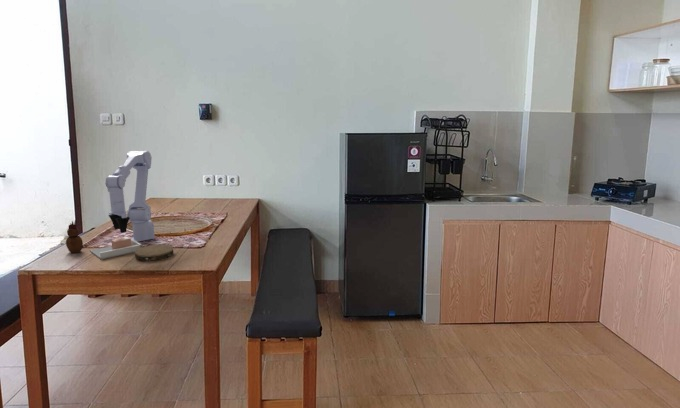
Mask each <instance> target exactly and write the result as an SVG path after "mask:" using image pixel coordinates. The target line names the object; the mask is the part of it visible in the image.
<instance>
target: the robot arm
mask: <svg viewBox="0 0 680 408" xmlns="http://www.w3.org/2000/svg"><path fill="white" fill-rule="evenodd" d="M152 159H153V158H152V155H151V152H150V151H149V150H129V151H128V152H127V153H126V160H125V161H124V163H123V165H118V167H117V168H116V169H115V171H114V172H113V173H112V174H111V175H108V176H107V177H106V179H105V187H106V188H107V192H108V194H109V201H110V202H109V203H110V211H109V212H108V217H109V219H110V220H111V222H112V225H113V229H114V230H119V231H120V233H121V234H124V233H126V232H127V227H128V224H129V223H130V224H131V225H132V226H131V227H132V237H130V238H131V239H133V240H135V241H137V242H138V243H140V242H142V241H148V240H149V241H150V240H155V239H156V237H155V226H154V223H153V221H152V220H151V217H152V212H151V211H152V210H151V206H150V205H149V204H148V203H146V199H147V188H148V187H147V186H148V178H149V177H148V176H149V169H151V167H152ZM131 169H135V170H136V181H135V189H134V190H135V191H134V201H133V202H132V203H131V204H129V206H128V210H127V211H126V206H125V196H124V187H125V186H126V182H127V178H128V177H130V174H131ZM129 221H130V222H129Z"/></svg>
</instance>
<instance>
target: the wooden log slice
mask: <svg viewBox="0 0 680 408" xmlns="http://www.w3.org/2000/svg"><path fill="white" fill-rule="evenodd" d="M173 255H174V247H173V246H171V245H169V244H168V245H167V244H154V245H147V246H142V248H140V249H137V250H136V251H135V253H134V258H135V260H136V261H139V262H144V263H145V262H148V263H150V262H158V261H159V262H160V261H163V260H167V259H169V258H172V257H173Z"/></svg>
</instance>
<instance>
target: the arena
mask: <svg viewBox="0 0 680 408" xmlns="http://www.w3.org/2000/svg"><path fill="white" fill-rule="evenodd" d="M129 238H130V239H131V238H132V237H129ZM142 247H143V244H142V243H140V242H137V241H135V240H133V239H131V246H130V247H125V248H120V249H115V250H112V245H110V246H105V247H101V248H95V249H92V250H89V252H90V253H91V254H92V255H94V256H96V258H99V259H100V260H105V259H110V258H111V259H112V258H115V257H116V258H117V257H120V256H124V255H129V254H135V251H136V250H137V249H140V248H142Z"/></svg>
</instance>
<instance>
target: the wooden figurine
mask: <svg viewBox="0 0 680 408" xmlns="http://www.w3.org/2000/svg"><path fill="white" fill-rule="evenodd" d="M77 226H78V225H77V220H76V219H75V220H74V221H73V220H72V221H71V223H69V224H68V228H67V231H66V233H67V236H68V237H67V238H66V240H65V247H66V248H67V250H68V251H69V253H72V254H77V253H80V252H81V251H82V250H83V246H84V244H83V242H84V241H83V239H82V237H81V236H80V235H79V234H80V230H79V228H78V227H77Z"/></svg>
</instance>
